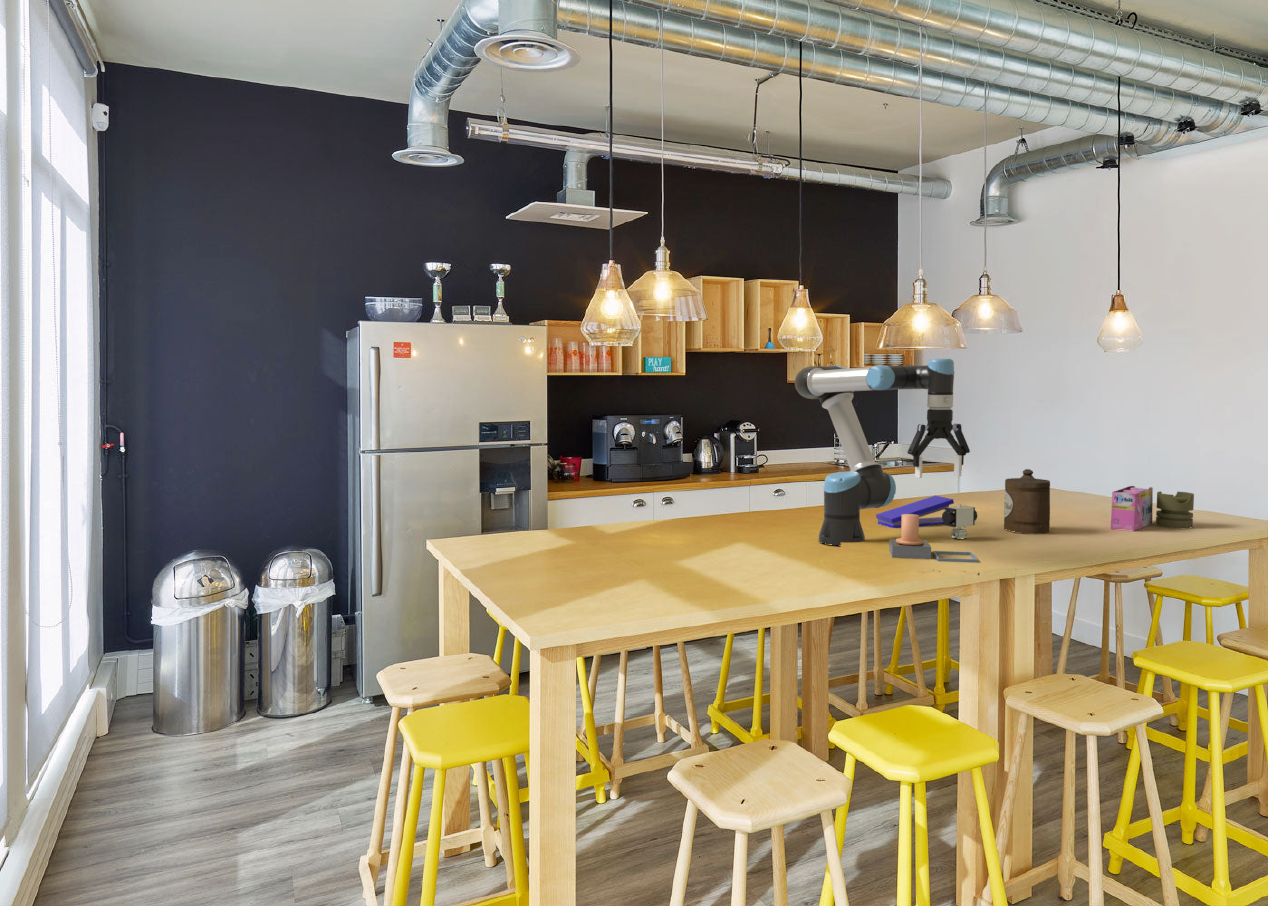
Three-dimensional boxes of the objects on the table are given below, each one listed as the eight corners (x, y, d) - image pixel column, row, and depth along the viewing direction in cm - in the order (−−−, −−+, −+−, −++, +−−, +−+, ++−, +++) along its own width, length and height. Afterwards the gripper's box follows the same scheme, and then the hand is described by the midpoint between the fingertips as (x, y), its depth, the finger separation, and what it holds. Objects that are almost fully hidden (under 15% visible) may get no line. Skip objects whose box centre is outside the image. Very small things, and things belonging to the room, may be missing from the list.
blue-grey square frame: (937, 566, 246) (937, 558, 246) (932, 558, 257) (932, 550, 257) (977, 567, 244) (977, 559, 244) (971, 559, 254) (971, 552, 254)
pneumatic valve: (977, 538, 288) (978, 503, 287) (951, 541, 283) (951, 506, 282) (965, 535, 293) (965, 501, 292) (939, 538, 288) (939, 504, 287)
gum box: (1129, 520, 319) (1131, 485, 318) (1153, 523, 314) (1155, 487, 313) (1110, 529, 303) (1111, 491, 301) (1134, 531, 297) (1136, 493, 296)
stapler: (957, 524, 317) (957, 498, 316) (892, 529, 309) (893, 502, 308) (937, 520, 328) (938, 494, 327) (874, 524, 320) (875, 498, 319)
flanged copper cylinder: (897, 556, 253) (897, 517, 252) (894, 551, 261) (895, 512, 260) (925, 557, 251) (925, 517, 250) (921, 552, 259) (922, 513, 258)
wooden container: (1008, 525, 312) (1010, 466, 310) (1052, 529, 303) (1054, 468, 301) (999, 531, 300) (1000, 470, 298) (1045, 535, 291) (1046, 472, 289)
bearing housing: (892, 562, 252) (892, 545, 251) (889, 555, 262) (889, 539, 262) (930, 563, 249) (931, 547, 249) (926, 556, 260) (926, 540, 260)
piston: (1200, 495, 300) (1166, 495, 302) (1198, 528, 301) (1164, 528, 303) (1184, 491, 311) (1151, 491, 313) (1182, 523, 312) (1150, 523, 314)
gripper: (910, 409, 255) (908, 479, 257) (983, 408, 261) (980, 476, 263) (897, 408, 263) (895, 476, 265) (968, 407, 268) (966, 473, 270)
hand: (938, 476), depth 264 cm, fingers open, 13 cm apart
